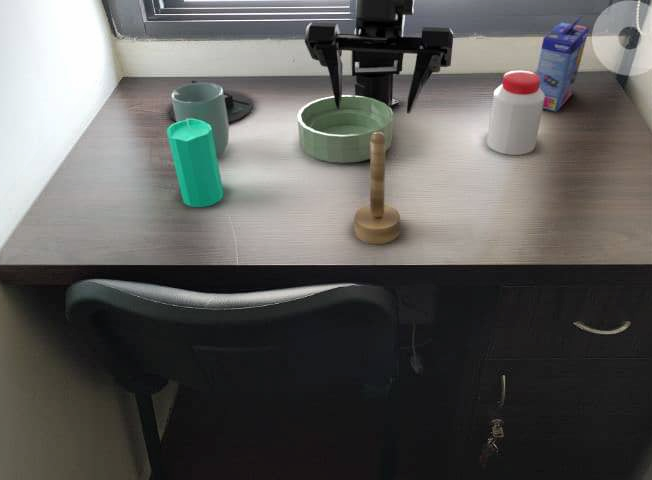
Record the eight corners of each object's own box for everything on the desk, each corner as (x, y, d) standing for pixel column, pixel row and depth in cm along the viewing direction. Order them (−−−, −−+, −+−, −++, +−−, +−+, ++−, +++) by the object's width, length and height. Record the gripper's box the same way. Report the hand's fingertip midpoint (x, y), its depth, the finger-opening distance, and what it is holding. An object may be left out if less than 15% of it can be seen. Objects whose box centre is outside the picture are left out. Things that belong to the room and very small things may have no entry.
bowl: (348, 115, 108) (347, 87, 104) (410, 143, 99) (412, 114, 96) (281, 143, 100) (278, 114, 97) (342, 176, 92) (341, 146, 88)
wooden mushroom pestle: (357, 217, 83) (356, 120, 74) (400, 219, 83) (404, 122, 73) (351, 242, 79) (349, 143, 69) (397, 245, 78) (401, 145, 69)
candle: (184, 186, 90) (167, 109, 82) (225, 184, 90) (211, 107, 83) (179, 208, 86) (160, 129, 78) (222, 206, 86) (207, 127, 78)
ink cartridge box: (558, 113, 107) (577, 27, 97) (528, 106, 109) (543, 22, 99) (574, 93, 113) (593, 11, 103) (545, 87, 115) (561, 6, 106)
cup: (222, 165, 95) (211, 104, 88) (176, 161, 96) (162, 100, 89) (239, 143, 100) (230, 83, 94) (195, 139, 102) (183, 80, 95)
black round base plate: (153, 112, 110) (145, 82, 106) (216, 86, 119) (212, 58, 115) (205, 135, 103) (199, 104, 99) (269, 106, 111) (266, 76, 107)
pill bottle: (539, 138, 100) (553, 71, 93) (529, 159, 95) (542, 90, 87) (493, 129, 102) (503, 64, 95) (481, 149, 97) (490, 82, 90)
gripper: (302, -49, 71) (288, 82, 71) (461, -44, 69) (447, 91, 69) (319, 0, 82) (307, 113, 82) (456, 5, 80) (444, 122, 80)
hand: (372, 110), depth 78 cm, fingers open, 9 cm apart
